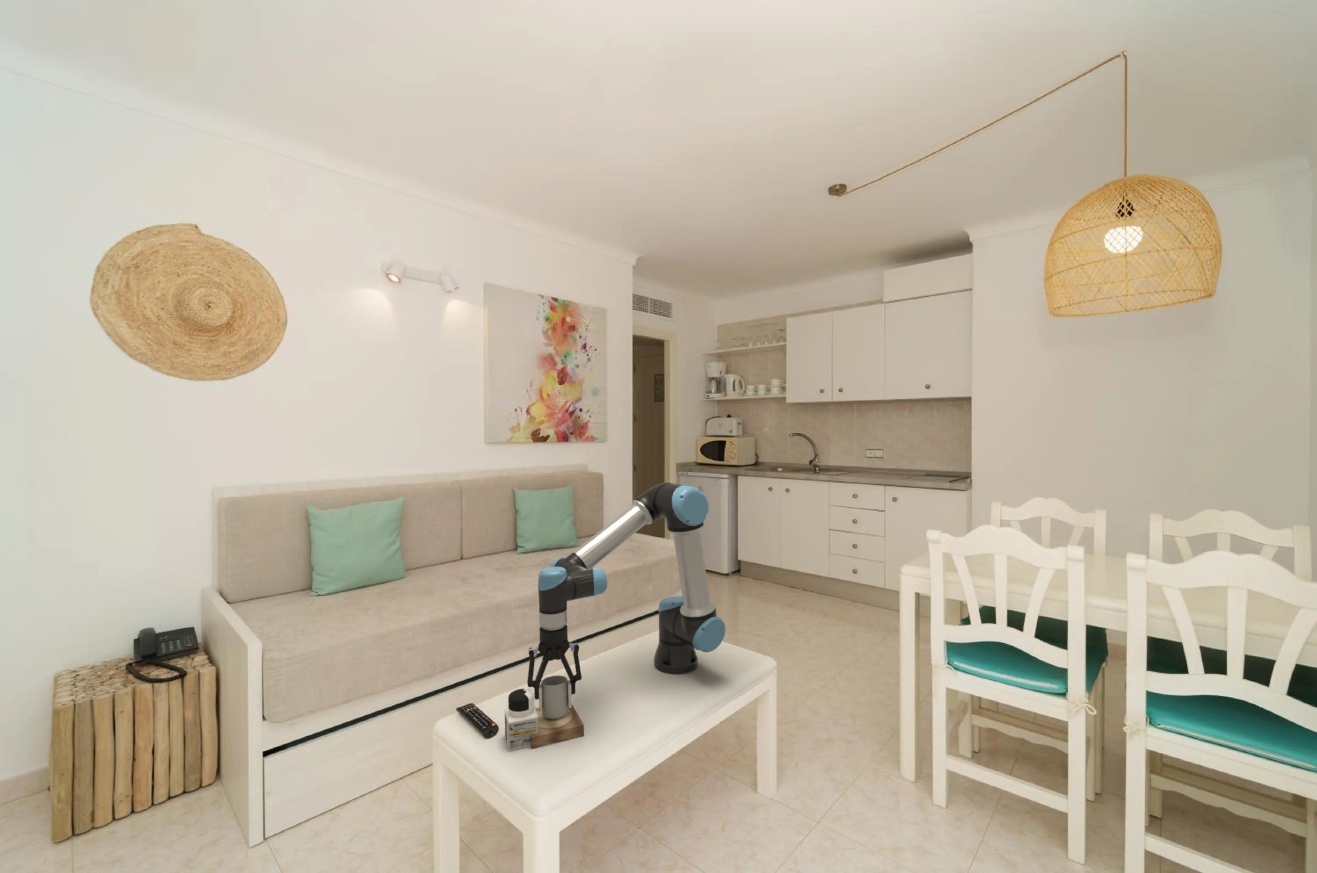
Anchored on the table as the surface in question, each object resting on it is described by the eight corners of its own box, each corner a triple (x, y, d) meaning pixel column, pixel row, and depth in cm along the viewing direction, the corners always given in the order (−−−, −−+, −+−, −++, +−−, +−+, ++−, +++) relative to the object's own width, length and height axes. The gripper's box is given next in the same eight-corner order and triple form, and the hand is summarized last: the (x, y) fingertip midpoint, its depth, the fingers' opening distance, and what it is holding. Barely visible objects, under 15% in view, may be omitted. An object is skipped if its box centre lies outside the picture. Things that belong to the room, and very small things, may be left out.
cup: (545, 721, 149) (544, 687, 149) (537, 707, 158) (536, 675, 158) (571, 715, 152) (570, 682, 152) (562, 701, 161) (561, 670, 161)
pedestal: (570, 711, 162) (570, 699, 162) (584, 735, 149) (583, 723, 149) (521, 722, 156) (521, 710, 156) (531, 748, 143) (531, 736, 143)
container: (508, 752, 142) (507, 701, 142) (504, 736, 149) (504, 688, 149) (539, 745, 145) (538, 695, 145) (533, 730, 152) (533, 683, 152)
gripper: (588, 616, 158) (590, 696, 159) (515, 624, 153) (517, 706, 154) (591, 626, 151) (593, 709, 151) (515, 634, 146) (517, 720, 146)
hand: (555, 707), depth 153 cm, fingers closed on cup, 7 cm apart
